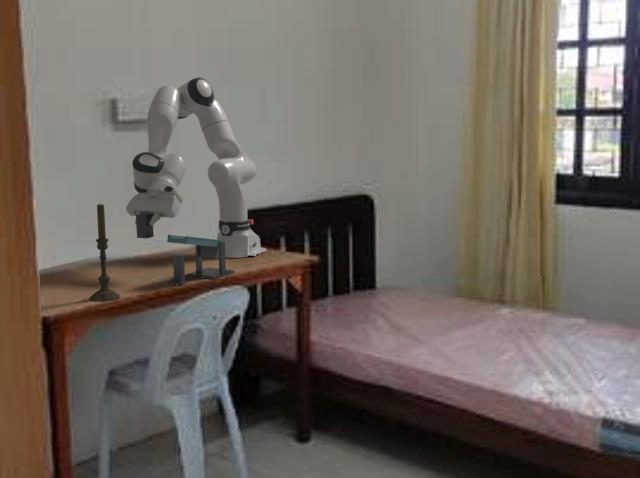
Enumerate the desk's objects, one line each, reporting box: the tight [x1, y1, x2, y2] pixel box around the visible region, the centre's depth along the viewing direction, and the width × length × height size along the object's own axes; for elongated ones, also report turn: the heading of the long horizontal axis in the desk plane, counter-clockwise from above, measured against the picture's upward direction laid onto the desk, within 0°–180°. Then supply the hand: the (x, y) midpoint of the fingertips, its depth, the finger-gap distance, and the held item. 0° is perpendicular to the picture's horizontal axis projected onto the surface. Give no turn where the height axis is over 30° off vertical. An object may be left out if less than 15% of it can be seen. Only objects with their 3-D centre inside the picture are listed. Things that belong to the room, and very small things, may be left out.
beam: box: [167, 234, 222, 259], centre depth 279 cm, size 23×9×6 cm, turn 152°
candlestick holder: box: [89, 202, 121, 302], centre depth 251 cm, size 9×9×30 cm
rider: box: [135, 213, 155, 239], centre depth 279 cm, size 4×4×8 cm
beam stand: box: [172, 242, 235, 286], centre depth 281 cm, size 25×12×12 cm, turn 152°
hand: (143, 224), depth 279 cm, fingers closed on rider, 4 cm apart
